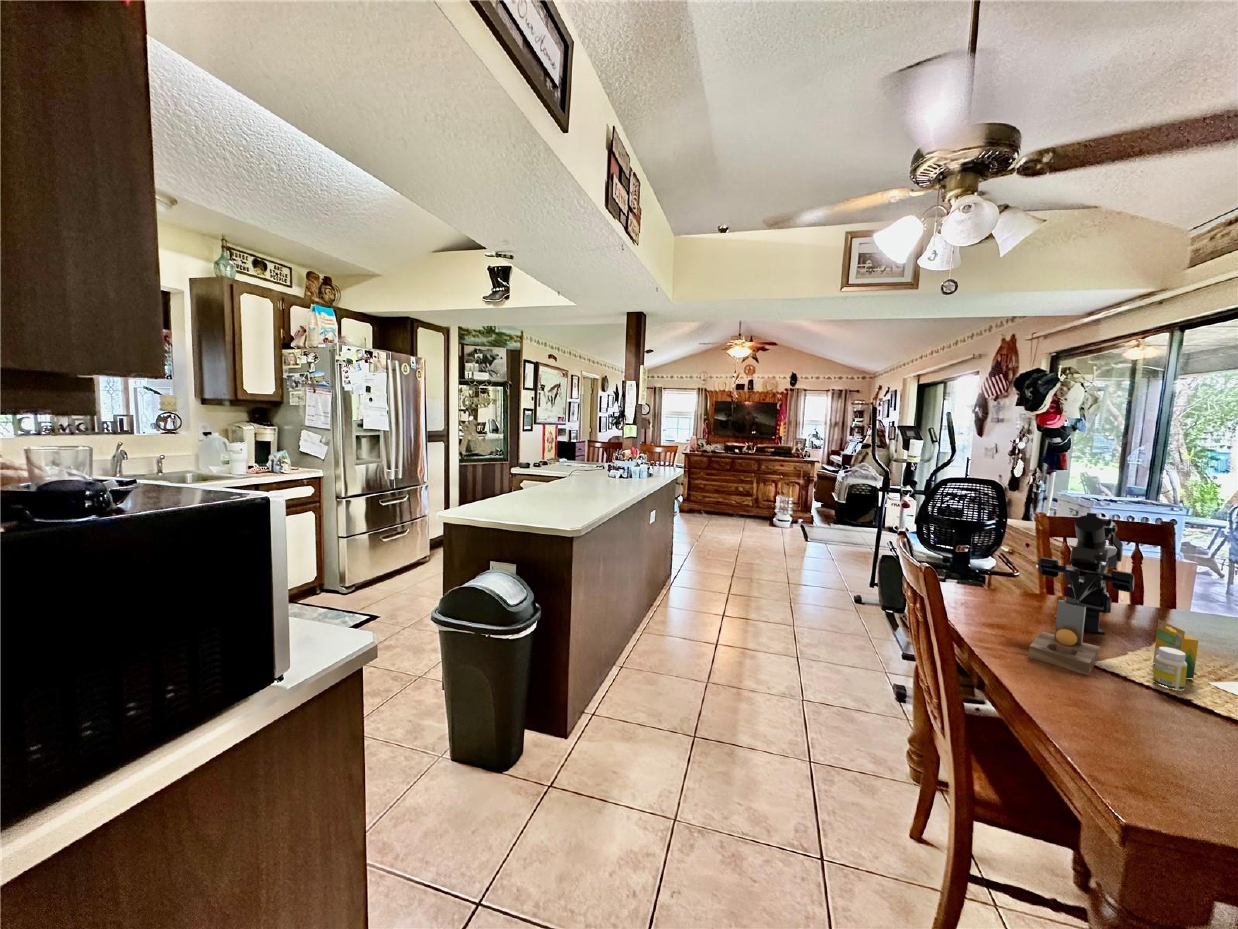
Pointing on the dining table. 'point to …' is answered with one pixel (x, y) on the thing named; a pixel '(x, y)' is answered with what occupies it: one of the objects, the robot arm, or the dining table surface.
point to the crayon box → (1177, 644)
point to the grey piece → (1071, 617)
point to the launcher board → (1064, 653)
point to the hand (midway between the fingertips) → (1077, 599)
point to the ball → (1066, 637)
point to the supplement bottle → (1170, 668)
